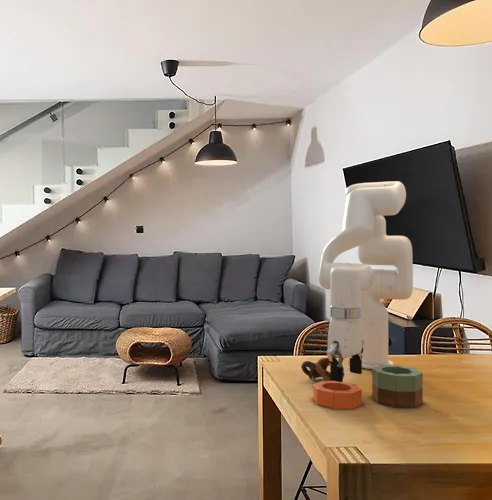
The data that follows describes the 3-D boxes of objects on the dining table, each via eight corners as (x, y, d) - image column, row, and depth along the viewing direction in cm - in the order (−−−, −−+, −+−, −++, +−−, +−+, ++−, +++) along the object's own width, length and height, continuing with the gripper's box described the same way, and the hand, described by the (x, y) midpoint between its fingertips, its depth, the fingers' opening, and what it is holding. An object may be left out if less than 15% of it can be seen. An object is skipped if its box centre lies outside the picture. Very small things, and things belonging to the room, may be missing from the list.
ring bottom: (366, 400, 139) (366, 385, 139) (385, 391, 146) (385, 377, 146) (409, 410, 131) (409, 394, 131) (428, 401, 138) (428, 385, 138)
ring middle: (366, 385, 139) (365, 370, 139) (385, 377, 146) (385, 362, 146) (409, 394, 131) (409, 378, 131) (428, 385, 138) (428, 370, 138)
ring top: (306, 401, 139) (306, 386, 139) (329, 393, 146) (329, 378, 146) (345, 411, 131) (345, 395, 130) (368, 402, 138) (367, 386, 138)
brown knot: (340, 380, 160) (347, 360, 155) (337, 402, 152) (345, 381, 148) (299, 367, 163) (306, 347, 159) (295, 388, 156) (301, 368, 151)
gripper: (349, 307, 149) (349, 367, 150) (314, 316, 138) (315, 381, 139) (375, 310, 144) (375, 372, 144) (341, 319, 132) (342, 387, 133)
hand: (346, 376), depth 142 cm, fingers open, 9 cm apart
